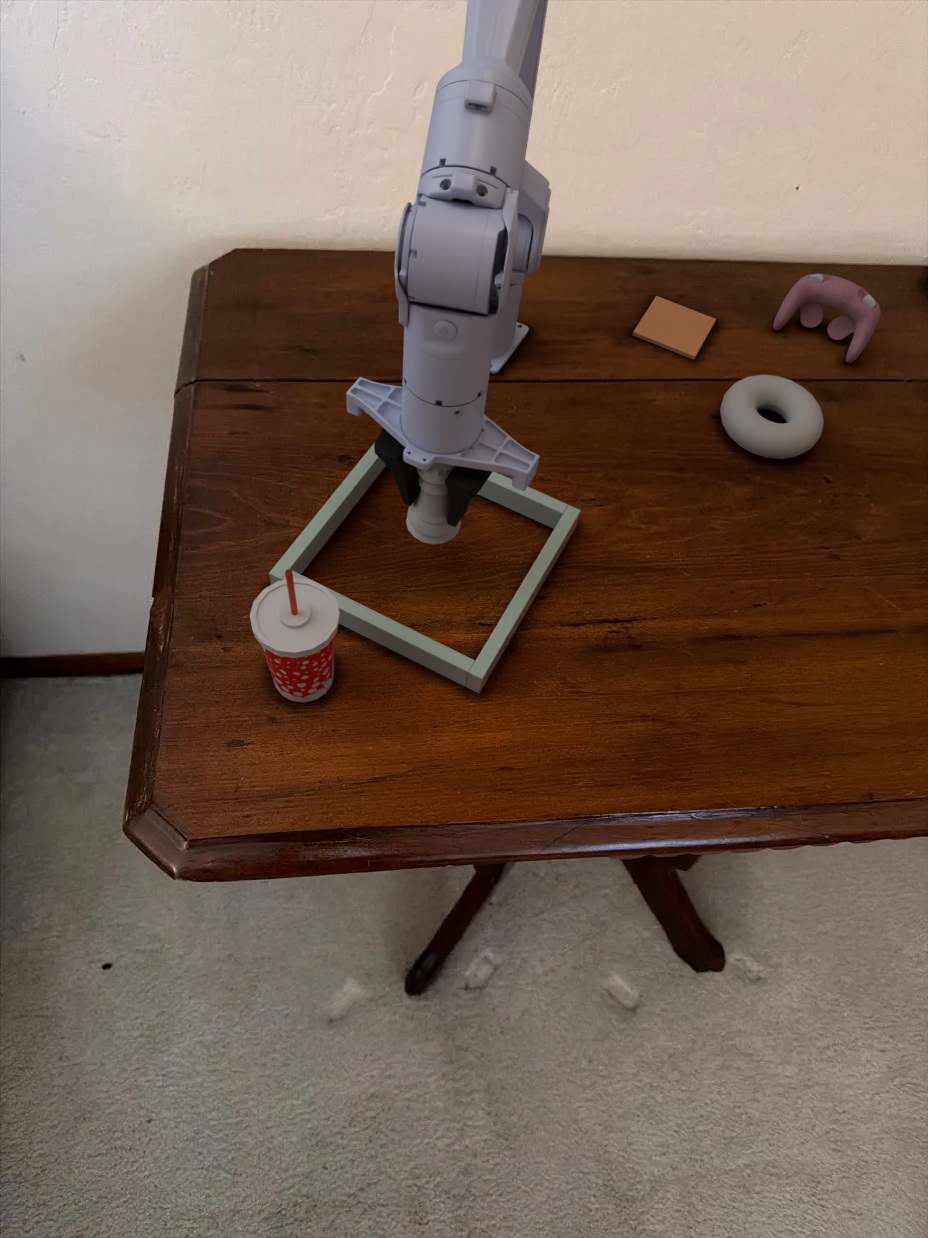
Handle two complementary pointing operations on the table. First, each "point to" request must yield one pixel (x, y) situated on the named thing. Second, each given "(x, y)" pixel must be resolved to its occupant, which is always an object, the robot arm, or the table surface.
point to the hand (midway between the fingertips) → (434, 506)
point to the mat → (674, 327)
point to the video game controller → (840, 296)
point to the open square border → (403, 637)
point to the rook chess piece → (432, 507)
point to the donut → (764, 433)
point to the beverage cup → (297, 635)
